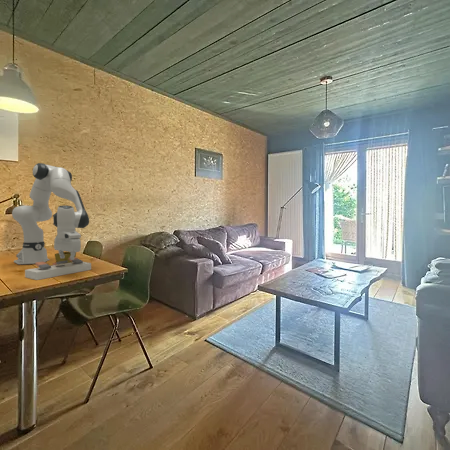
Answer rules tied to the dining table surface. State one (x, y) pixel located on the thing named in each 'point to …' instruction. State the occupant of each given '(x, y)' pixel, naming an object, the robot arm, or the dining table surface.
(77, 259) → the rocker far
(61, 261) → the rocker middle
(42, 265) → the rocker near
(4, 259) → the dining table surface
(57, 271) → the power strip
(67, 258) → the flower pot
